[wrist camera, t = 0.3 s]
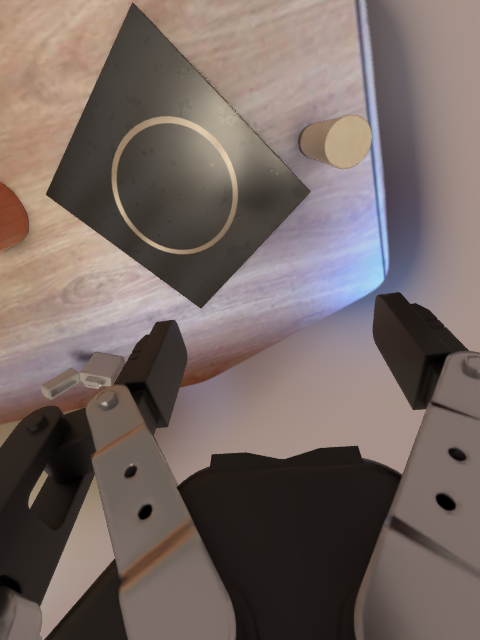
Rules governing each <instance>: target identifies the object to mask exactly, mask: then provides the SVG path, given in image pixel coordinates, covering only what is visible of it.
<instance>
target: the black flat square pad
mask: <svg viewBox="0 0 480 640" xmlns="http://www.w3.org/2000/svg"><path fill="white" fill-rule="evenodd" d="M309 193H310V191H309V189H308V188H307V187H306V186H305V185H304V184H303V183H302V182H301V181H300V180H299V179H298V178H297V177H296V176H295V175H294V173H293V172H292V171H291V170H290V169H289V168H288V167H287V166H286V165H285V164H284V163H283V162H282V161H281V160H280V159H279V157H278V156H277V155H276V154H275V153H274V152H273V151H272V150H271V149H270V148H269V147H268V146H267V145H266V144H265V143H264V142H263V140H262V139H261V138H260V137H259V136H258V135H257V134H256V133H255V132H254V131H253V130H252V129H251V128H250V127H249V126H248V124H247V123H246V122H245V121H244V120H243V119H242V118H241V117H240V116H239V115H238V114H237V113H236V112H235V111H234V110H233V109H232V107H231V106H230V105H229V104H228V103H227V102H226V101H225V100H224V99H223V98H222V97H221V96H220V95H219V94H218V93H217V91H216V90H215V89H214V88H213V87H212V86H211V85H210V84H209V83H208V82H207V81H206V80H205V79H204V78H203V77H202V76H201V74H200V73H199V72H198V71H197V70H196V69H195V68H194V67H193V66H192V65H191V64H190V63H189V62H188V61H187V60H186V58H185V57H184V56H183V55H182V54H181V53H180V52H179V51H178V50H177V49H176V48H175V47H174V46H173V45H172V44H171V43H170V41H169V40H168V39H167V38H166V37H165V36H164V35H163V34H162V33H161V32H160V31H159V30H158V29H157V28H156V27H155V25H154V24H153V23H152V22H151V21H150V20H149V19H148V18H147V17H146V16H145V15H144V14H143V13H142V12H141V11H140V10H139V8H138V7H137V6H136V5H135V4H134V3H132V4H131V7H130V9H129V11H128V13H127V16H126V18H125V20H124V22H123V24H122V27H121V29H120V31H119V33H118V36H117V38H116V40H115V42H114V44H113V47H112V49H111V51H110V53H109V55H108V58H107V60H106V62H105V64H104V67H103V69H102V71H101V73H100V75H99V78H98V80H97V82H96V84H95V87H94V89H93V91H92V93H91V95H90V98H89V100H88V102H87V104H86V106H85V109H84V111H83V113H82V115H81V118H80V120H79V122H78V124H77V126H76V129H75V131H74V133H73V135H72V138H71V140H70V142H69V144H68V146H67V149H66V151H65V153H64V155H63V157H62V160H61V162H60V164H59V166H58V169H57V171H56V173H55V175H54V177H53V180H52V182H51V184H50V186H49V189H48V191H47V193H46V195H47V196H48V197H50V198H51V199H53V200H54V201H55V202H57V203H58V204H59V205H61V206H62V207H63V208H65V209H66V210H68V211H69V212H70V213H72V214H73V215H74V216H76V217H77V218H78V219H80V220H81V221H82V222H84V223H85V224H87V225H88V226H89V227H91V228H92V229H93V230H95V231H96V232H97V233H99V234H100V235H102V236H103V237H104V238H106V239H107V240H108V241H110V242H111V243H112V244H114V245H115V246H117V247H118V248H119V249H121V250H122V251H123V252H125V253H126V254H127V255H129V256H130V257H131V258H133V259H134V260H136V261H137V262H138V263H140V264H141V265H142V266H144V267H145V268H146V269H148V270H149V271H151V272H152V273H153V274H155V275H156V276H157V277H159V278H160V279H161V280H163V281H164V282H165V283H167V284H168V285H170V286H171V287H172V288H174V289H175V290H176V291H178V292H179V293H180V294H182V295H183V296H185V297H186V298H187V299H189V300H190V301H191V302H193V303H194V304H195V305H197V306H198V307H200V308H202V307H203V306H204V305H205V304H206V303H207V302H208V301H209V300H210V299H211V298H212V296H213V295H214V294H215V293H216V292H217V291H218V290H219V289H220V288H221V287H222V286H223V285H224V284H225V283H226V282H227V281H228V279H229V278H230V277H231V276H232V275H233V274H234V273H235V272H236V271H237V270H238V269H239V268H240V267H241V266H242V265H243V263H244V262H245V261H246V260H247V259H248V258H249V257H250V256H251V255H252V254H253V253H254V252H255V251H256V250H257V249H258V247H259V246H260V245H261V244H262V243H263V242H264V241H265V240H266V239H267V238H268V237H269V236H270V235H271V234H272V233H273V231H274V230H275V229H276V228H277V227H278V226H279V225H280V224H281V223H282V222H283V221H284V220H285V219H286V218H287V217H288V215H289V214H290V213H291V212H292V211H293V210H294V209H295V208H296V207H297V206H298V205H299V204H300V203H301V202H302V201H303V200H304V198H305V197H306V196H307V195H308V194H309Z"/></svg>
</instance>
